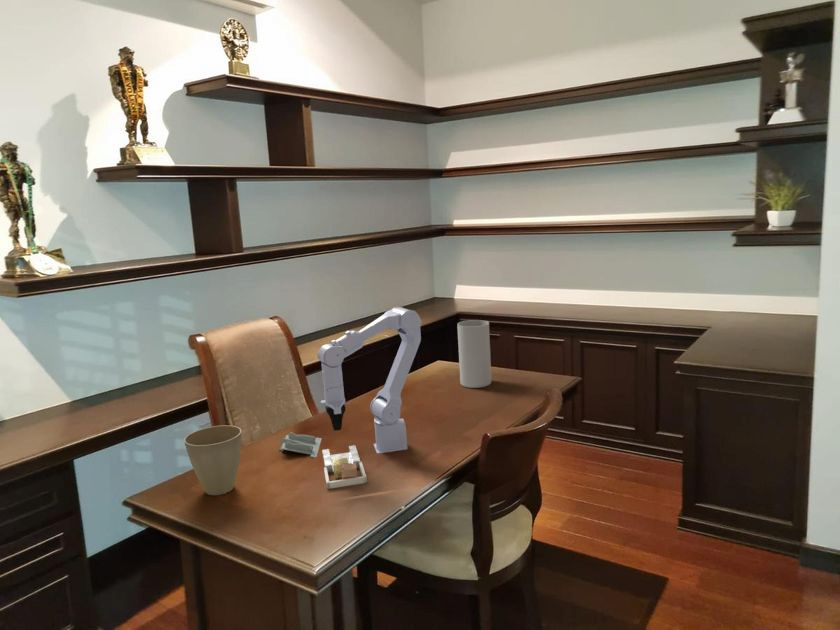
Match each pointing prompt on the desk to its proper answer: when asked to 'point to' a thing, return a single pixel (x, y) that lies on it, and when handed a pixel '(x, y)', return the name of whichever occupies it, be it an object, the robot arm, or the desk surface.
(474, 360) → the cylinder vase
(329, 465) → the aluminium channel
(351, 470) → the copper cube
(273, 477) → the desk surface
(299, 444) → the metal bracket
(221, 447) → the plant pot
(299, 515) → the desk surface
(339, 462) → the brass cube
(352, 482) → the tray
